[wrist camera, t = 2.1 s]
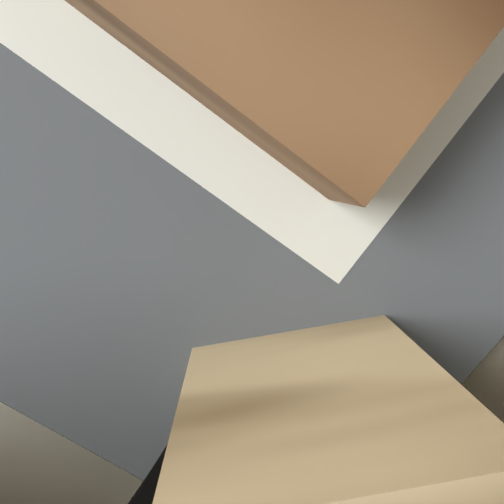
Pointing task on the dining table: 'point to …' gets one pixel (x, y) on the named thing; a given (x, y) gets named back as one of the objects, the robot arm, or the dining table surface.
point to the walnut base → (313, 72)
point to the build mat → (210, 235)
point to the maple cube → (329, 424)
